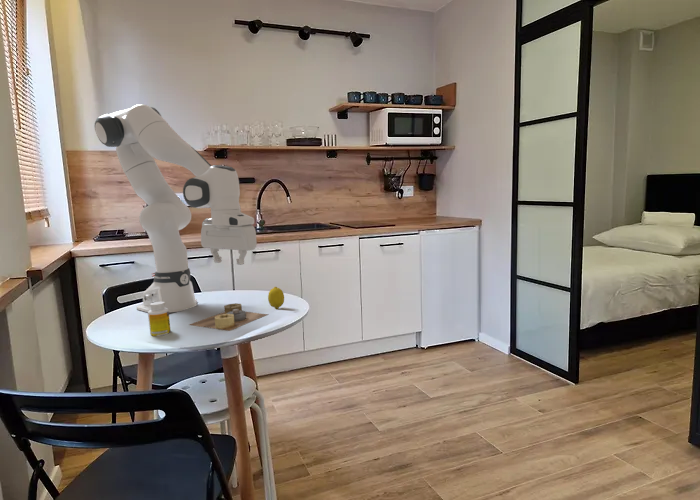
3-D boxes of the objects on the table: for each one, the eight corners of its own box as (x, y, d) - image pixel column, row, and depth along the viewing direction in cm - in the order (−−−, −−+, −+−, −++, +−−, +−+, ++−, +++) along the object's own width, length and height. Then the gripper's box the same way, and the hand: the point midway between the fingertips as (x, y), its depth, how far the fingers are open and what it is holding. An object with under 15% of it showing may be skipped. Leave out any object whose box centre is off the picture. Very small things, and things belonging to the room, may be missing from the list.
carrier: (188, 328, 141) (187, 315, 141) (230, 313, 157) (228, 301, 156) (229, 334, 133) (228, 320, 133) (269, 317, 149) (268, 305, 148)
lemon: (281, 311, 156) (280, 288, 155) (266, 311, 157) (264, 288, 156) (287, 307, 162) (285, 284, 161) (272, 307, 163) (270, 285, 162)
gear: (211, 327, 137) (210, 318, 136) (225, 322, 141) (224, 313, 141) (225, 329, 134) (224, 319, 134) (238, 324, 139) (237, 314, 138)
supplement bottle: (172, 337, 133) (169, 303, 132) (152, 341, 131) (148, 306, 129) (169, 332, 138) (165, 299, 137) (149, 336, 135) (145, 302, 134)
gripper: (194, 219, 142) (197, 262, 144) (244, 220, 132) (246, 267, 134) (209, 217, 148) (212, 259, 149) (258, 218, 138) (260, 263, 140)
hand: (229, 263), depth 142 cm, fingers open, 8 cm apart
